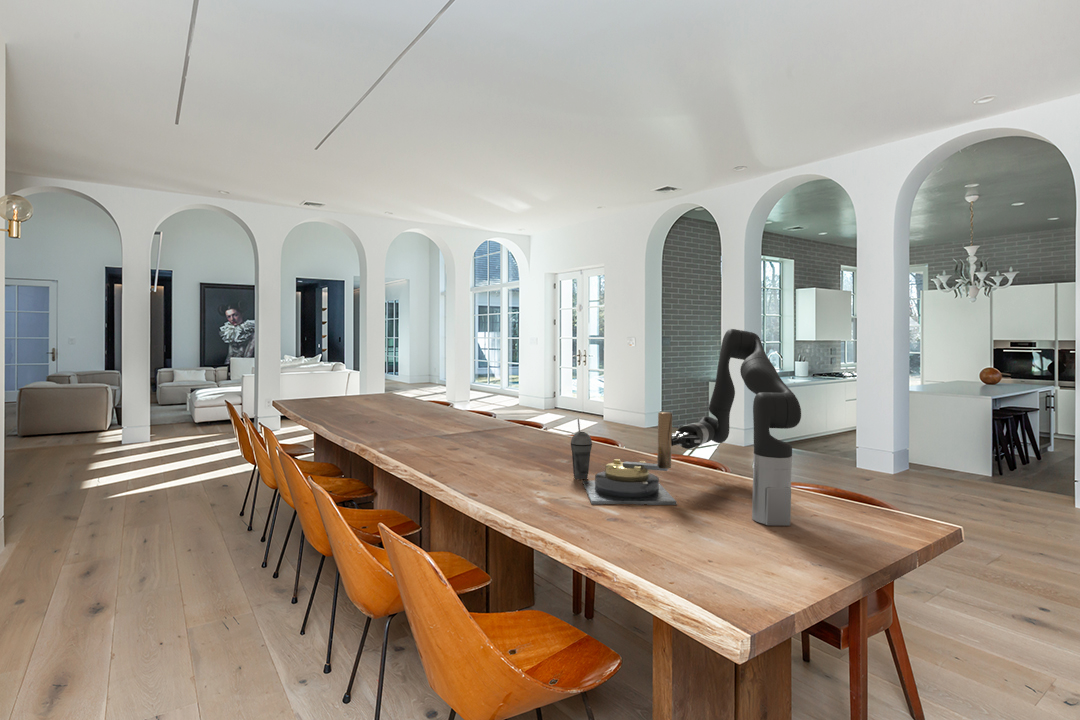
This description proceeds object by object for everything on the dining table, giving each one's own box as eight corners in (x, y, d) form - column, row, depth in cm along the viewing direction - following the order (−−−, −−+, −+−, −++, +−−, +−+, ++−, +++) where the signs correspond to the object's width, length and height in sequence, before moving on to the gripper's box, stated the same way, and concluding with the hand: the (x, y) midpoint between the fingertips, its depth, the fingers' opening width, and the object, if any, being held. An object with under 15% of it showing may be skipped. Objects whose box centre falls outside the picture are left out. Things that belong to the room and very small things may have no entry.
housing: (676, 504, 166) (676, 486, 166) (591, 504, 165) (591, 485, 165) (657, 484, 190) (657, 467, 190) (582, 483, 189) (583, 467, 189)
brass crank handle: (600, 479, 173) (601, 412, 173) (610, 470, 186) (611, 407, 185) (667, 485, 167) (669, 415, 166) (673, 475, 179) (674, 410, 179)
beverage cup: (592, 481, 193) (593, 420, 192) (570, 480, 193) (571, 419, 192) (590, 476, 200) (592, 417, 199) (569, 475, 200) (570, 416, 199)
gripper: (673, 421, 192) (648, 427, 179) (712, 425, 184) (689, 432, 171) (673, 444, 193) (647, 452, 179) (712, 449, 184) (688, 458, 171)
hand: (668, 442), depth 175 cm, fingers closed
